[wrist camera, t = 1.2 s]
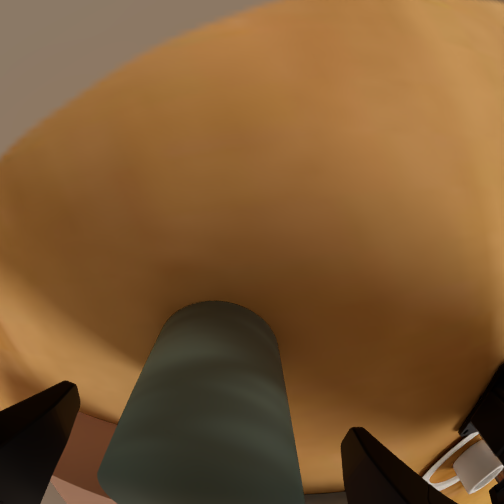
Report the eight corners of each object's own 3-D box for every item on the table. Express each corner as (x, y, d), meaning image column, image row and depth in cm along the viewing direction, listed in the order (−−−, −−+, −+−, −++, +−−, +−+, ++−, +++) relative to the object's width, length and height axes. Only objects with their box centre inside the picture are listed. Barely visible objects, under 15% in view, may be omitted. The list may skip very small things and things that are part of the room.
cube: (158, 435, 13) (139, 507, 8) (161, 475, 14) (148, 534, 10) (78, 410, 13) (44, 470, 8) (92, 454, 14) (69, 507, 9)
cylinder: (291, 312, 11) (337, 466, 4) (264, 404, 12) (275, 538, 6) (161, 289, 11) (77, 426, 4) (157, 386, 12) (114, 514, 5)
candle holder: (413, 500, 18) (424, 528, 14) (412, 460, 15) (431, 499, 11) (501, 444, 17) (517, 466, 13) (523, 381, 14) (549, 407, 10)
